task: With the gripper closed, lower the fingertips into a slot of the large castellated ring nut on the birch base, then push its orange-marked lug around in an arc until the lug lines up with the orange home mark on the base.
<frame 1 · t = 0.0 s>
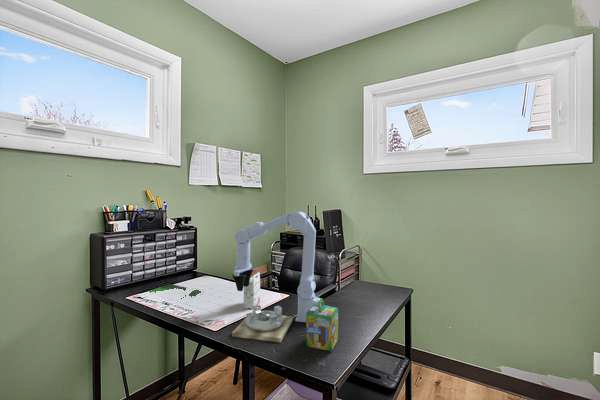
hand: (242, 288, 122), 10 cm above the table, tool pointing down, fingers open, 6 cm apart
ring nut: (264, 316, 108), point 4 cm above the table, hinge at 0.0°
chalk box: (322, 343, 97), on the table
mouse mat: (171, 295, 143), on the table
ink cartridge box: (251, 305, 130), on the table, touching gripper
base plate: (264, 327, 108), on the table
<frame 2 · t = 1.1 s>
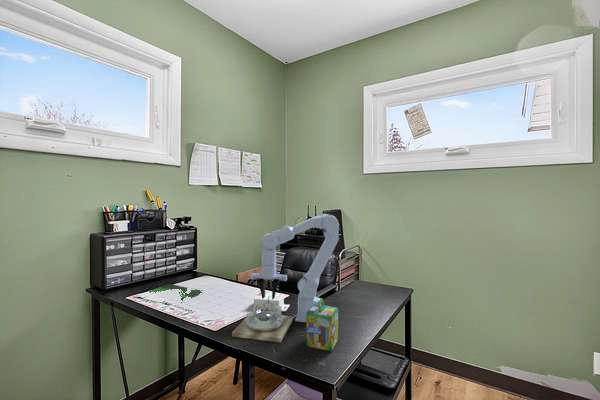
hand: (268, 297, 114), 9 cm above the table, tool pointing down, fingers open, 3 cm apart
ink cartridge box: (256, 300, 130), point 2 cm above the table
everything else where it was.
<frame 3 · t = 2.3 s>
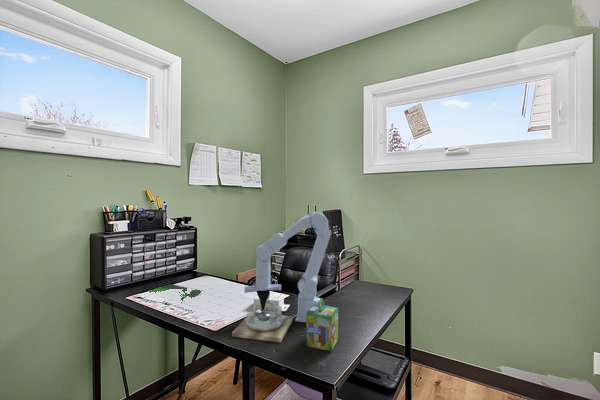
hand: (262, 309, 113), 5 cm above the table, tool pointing down, fingers closed, pressing on ring nut
ring nut: (264, 316, 108), point 4 cm above the table, hinge at 0.0°, touching gripper
everything else where it was.
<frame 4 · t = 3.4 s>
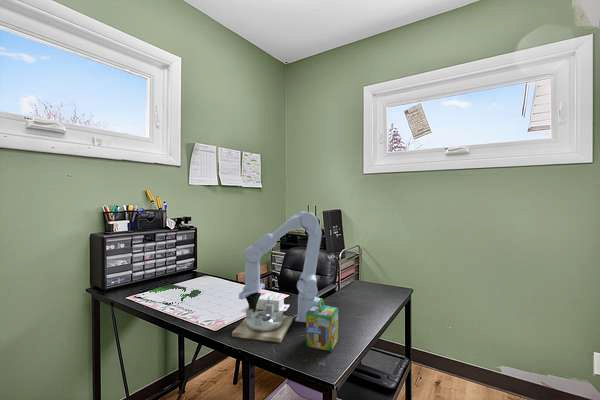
hand: (252, 311, 111), 5 cm above the table, tool pointing down, fingers closed, pressing on ring nut
ring nut: (264, 316, 108), point 4 cm above the table, hinge at 38.9°, touching gripper
everything else where it was.
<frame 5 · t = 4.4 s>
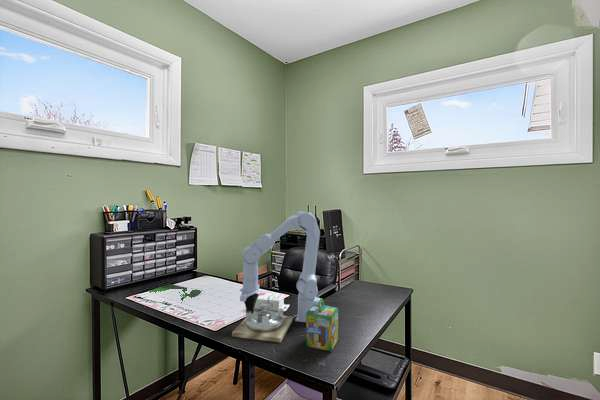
hand: (250, 313, 109), 5 cm above the table, tool pointing down, fingers closed, pressing on ring nut
ring nut: (264, 316, 108), point 4 cm above the table, hinge at 62.0°, touching gripper
everything else where it was.
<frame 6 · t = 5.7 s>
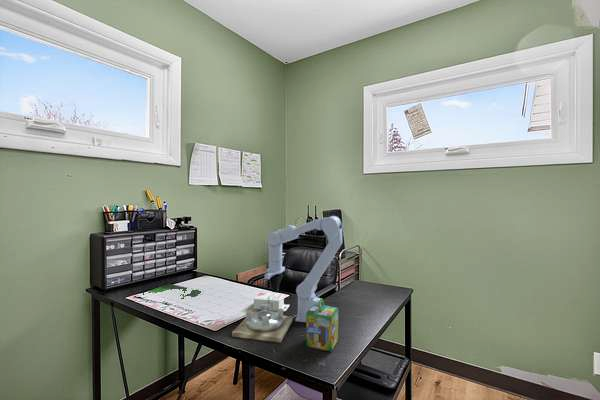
hand: (275, 291, 121), 9 cm above the table, tool pointing down, fingers closed
ring nut: (264, 316, 108), point 4 cm above the table, hinge at 62.1°
everything else where it was.
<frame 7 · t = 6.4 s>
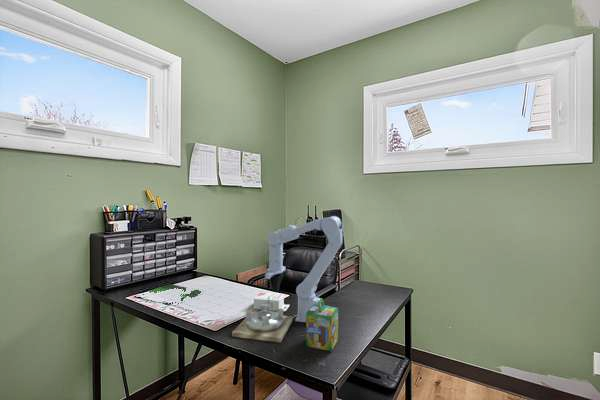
hand: (275, 291, 121), 9 cm above the table, tool pointing down, fingers closed
nothing on the table moved.
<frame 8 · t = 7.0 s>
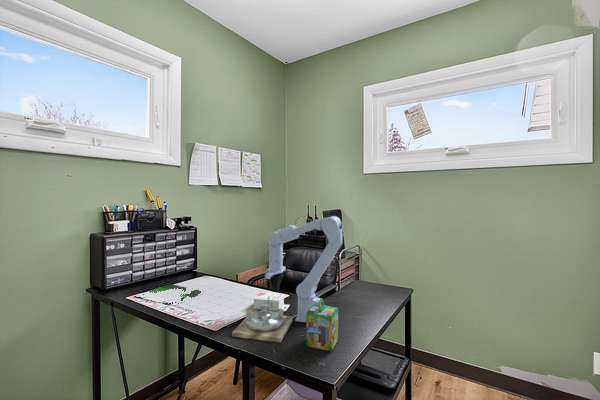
hand: (275, 291, 121), 9 cm above the table, tool pointing down, fingers closed
nothing on the table moved.
at the end: ring nut at +62° (first picture: +0°); ink cartridge box moved 3.3 cm from its start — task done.
